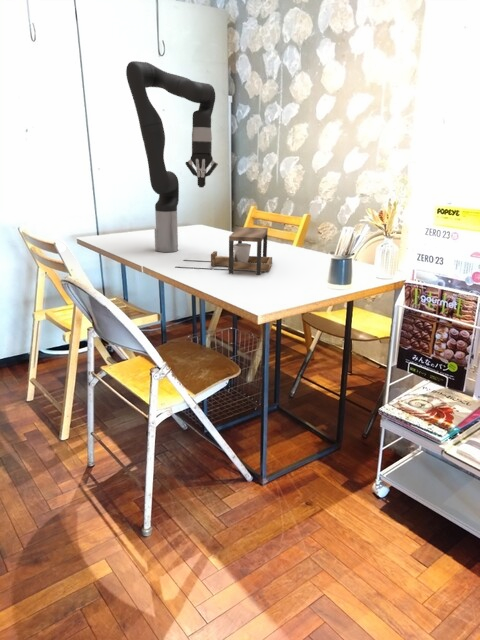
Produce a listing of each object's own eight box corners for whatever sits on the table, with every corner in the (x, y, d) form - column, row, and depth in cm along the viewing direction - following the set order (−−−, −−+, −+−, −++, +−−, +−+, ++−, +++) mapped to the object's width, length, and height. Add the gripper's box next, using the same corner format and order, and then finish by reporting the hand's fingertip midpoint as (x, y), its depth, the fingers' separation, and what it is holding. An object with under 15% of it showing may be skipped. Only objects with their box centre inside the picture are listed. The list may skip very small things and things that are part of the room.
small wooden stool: (228, 273, 182) (229, 236, 177) (238, 260, 202) (238, 226, 198) (260, 275, 180) (261, 237, 176) (266, 261, 201) (267, 228, 196)
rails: (175, 267, 189) (174, 267, 189) (183, 260, 201) (183, 259, 201) (264, 272, 184) (264, 271, 184) (267, 264, 196) (267, 264, 196)
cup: (254, 264, 195) (254, 244, 193) (241, 269, 187) (242, 248, 184) (238, 262, 199) (238, 242, 196) (225, 267, 190) (225, 246, 188)
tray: (208, 268, 187) (208, 256, 185) (215, 260, 199) (215, 249, 197) (268, 271, 184) (269, 259, 182) (272, 263, 196) (272, 252, 194)
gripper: (182, 139, 188) (182, 187, 193) (216, 140, 186) (215, 188, 192) (187, 139, 195) (187, 185, 200) (220, 141, 193) (219, 187, 198)
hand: (201, 187), depth 196 cm, fingers closed
